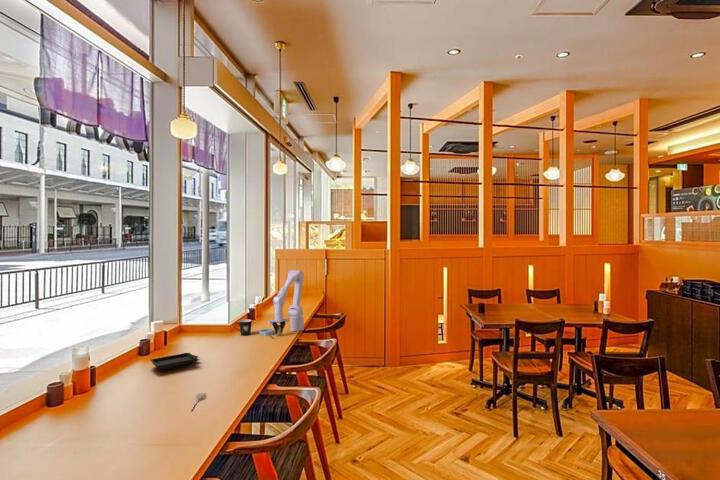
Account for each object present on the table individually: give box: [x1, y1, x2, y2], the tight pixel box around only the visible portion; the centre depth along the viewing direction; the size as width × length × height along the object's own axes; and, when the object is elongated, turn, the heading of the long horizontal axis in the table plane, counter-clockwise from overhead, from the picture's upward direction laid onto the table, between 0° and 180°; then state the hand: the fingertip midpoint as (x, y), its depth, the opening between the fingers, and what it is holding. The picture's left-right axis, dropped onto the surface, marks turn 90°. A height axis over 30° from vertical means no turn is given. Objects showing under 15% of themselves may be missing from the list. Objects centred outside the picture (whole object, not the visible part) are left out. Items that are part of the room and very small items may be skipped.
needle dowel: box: [275, 324, 282, 337], centre depth 292 cm, size 3×3×7 cm
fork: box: [195, 392, 207, 404], centre depth 180 cm, size 3×21×3 cm, turn 2°
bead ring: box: [258, 328, 275, 337], centre depth 297 cm, size 10×10×2 cm
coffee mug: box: [233, 318, 253, 337], centre depth 294 cm, size 12×9×10 cm
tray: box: [149, 352, 199, 371], centre depth 227 cm, size 30×23×5 cm
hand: (278, 332), depth 292 cm, fingers closed on needle dowel, 3 cm apart
